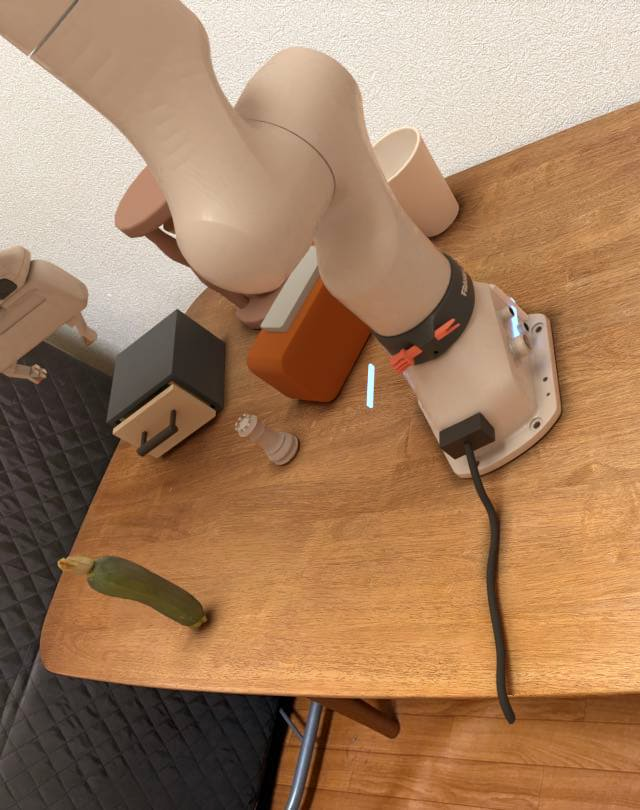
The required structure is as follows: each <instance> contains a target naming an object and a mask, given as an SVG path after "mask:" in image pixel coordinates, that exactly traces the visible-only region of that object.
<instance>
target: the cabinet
mask: <svg viewBox="0 0 640 810" xmlns="http://www.w3.org/2000/svg"><path fill="white" fill-rule="evenodd" d="M225 346H226V342H225V341H223V340H222V339H221V338H219V337H218V336H216V335H215V334H213V333H212V332H211V331H209V329H206V327H204V326H202V325H201V324H200V323H198V322H197V321H195V320H194V319H193V318H191V317H189V316H188V315H187V314H185V313H184V312H183V311H181V310H180V309H179V308H176V309H174V310H173V311H172V312H171V313H169V314H168V315H166V316H165V317H164V318H163V319H161V320H160V321H159V322H158V323H157V324H155V325H154V326H153V327H151V328H150V329H149V330H148V331H146V332H145V333H143V335H141V336H140V337H138V338H137V339H136V340H135V341H133V342H132V343H131V344H129V345H128V346H127V347H126V348H124V349H123V350H122V351H121V352H120V353H118V354H117V355H116V359H115V364H114V371H113V376H112V377H113V378H112V383H111V389H110V395H109V402H108V407H107V415H106V421H105V423H106V424H107V425H109V426H111V427H113V429H114V428H115V427H116V426H118V425H119V424H120V423H122V422H121V421H119V419H120V418H121V417H122V416H124V415H125V414H126V413H128V412H129V411H130V410H132V409H133V408H134V407H136V406H137V405H138V404H140V403H141V402H142V401H144V400H145V399H146V398H148V397H149V396H150V395H152V394H153V393H154V392H156V391H157V390H158V389H160V388H161V387H162V386H164V385H165V384H166V383H168V382H169V381H170V380H172V379H173V380H174V381H176V382H177V383H179V384H180V385H182V386H183V387H185V388H187V389H188V390H190V391H191V392H193V393H194V394H196V395H198V396H199V397H201V398H202V399H204V400H205V401H207V402H208V403H210V404H211V406H210V407H211V408H212V409H214V410H215V411H216V413H217V412H219V411H220V410H222V409H223V408H224V399H225V398H224V395H225V394H224V393H225V353H226V352H225V349H226V347H225Z"/></svg>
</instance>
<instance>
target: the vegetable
mask: <svg viewBox="0 0 640 810" xmlns="http://www.w3.org/2000/svg"><path fill="white" fill-rule="evenodd" d="M57 567H58V568H59V569H60V570H61V571H63V572H66V573H67V572H70V573H73V574H76V575H81V576H82V575H83V576H84V575H85V577H86V582H87V584H88V586H89V587H90V588H91V589H92V590H94V591H95V592H97V593H99V594H101V595H104V596H109V597H111V598H118V599H123V600H129V601H133V602H137V603H140V604H143V605H145V606H148V607H150V608H152V609H153V610H155V611H156V612H157V613H160V614H161V615H162V616H165V617H167V618H168V619H170V620H171V621H173V622H176V623H177V624H179V625H181V626H183V627H188V628H189V629H191V630H196V628H200V627H201V626H202V624H203V623H206V622H207V621H208V618H207V615H206V613H205V609H204V607H203V605H202V603H201V602H200V601H199V600H198V599H197V598H196V597H195V596H194V595H192V594H191V593H190V592H189V591H187V590H185V589H184V588H182V587H181V586H179V585H177V584H175V583H173V582H172V581H169V580H168V579H166V578H165V577H162V576H161V575H159V574H158V573H155V572H153V571H151V570H150V569H148V568H146V567H145V566H142V565H141V564H138V563H136V562H134V561H131V560H130V559H126V558H124V557H120V556H115V555H103V556H100V557H97V558H96V559H92V558H91V557H89V556H83V555H73V556H70V555H69V556H67V557H66V558H65V557H62V558H60V559H59V560H58V561H57Z"/></svg>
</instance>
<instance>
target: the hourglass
mask: <svg viewBox="0 0 640 810" xmlns="http://www.w3.org/2000/svg"><path fill="white" fill-rule="evenodd" d="M161 226H162V228H163V229H161ZM114 227H116V228H117V229H118V230H119V231H120V232H121V233H123V234H124V235H125V236H127V237H128V238H130V239H137V238H143V237H145V238H146V239H148V240H149V241H150V242H151V243H152V244H154V245H155V246H156V247H157V248H158V249H159V251H161V252H162V253H163V254H164V255H165V256H166V257H167V258H169V259H170V260H172V261H173V262H176V263H178V264H180V265H182V266H185V267H187V268H190V269H191V271H192V272H193V273H194V275H195V276H196V277H197V279H198V280H199V281H200V282H201V283H202V284H203V285H205V286H206V287H207V288H208V289H211V291H214V292H216V293H218V294H219V295H221V296H222V297H224V298H225V299H226V300H228V301H229V302H230V303H232V304H233V305H234V309H235V313H236V318H237V319H238V320H239V321H240V322H242V323H243V325H245V326H247V327H248V328H250V329H251V330H262V328H261V324H262V322H263V320H264V319H265V317H266V315H267V314H268V312H269V310H270V308H271V307H272V305H273V303H274V302H275V300H276V298H277V297H278V295H279V293H280V291H281V290H282V288H283V286H284V285H285V283H286V281H287V279H288V278H289V277H288V278H287V279H286V280H285V281H284V283H283V284H282V285H281V286H280V287H279V288H277V289H275V290H273V291H270V292H265V293H259V294H243V293H236V292H231V291H228V290H225V289H222V288H220V287H218V286H216V285H214V284H212V283H210V282H208V281H207V280H205V279H204V278H203V277H201V276H200V275H199V274H198V273H197V272H196V271H195V270H194V269H193V268H192V267H191V266H190V265H189V263H188V262H187V261H186V259H185V258H184V256H183V255H182V253H181V251H180V249H179V247H178V244H177V240H176V237H174V236H172V235H176V234H175V228H174V223H173V218H172V215H171V212H170V209H169V206H168V203H167V201H166V198H165V196H164V194H163V192H162V190H161V188H160V186H159V184H158V182H157V180H156V178H155V177H154V175H153V173H152V172H151V170H150V168H149V167H148V165H147V164H146V166H145V167H144V168H143V169H142V170H141V171H140V172H139V174H138V175H137V176H136V178H135V179H134V180H133V181H132V182H131V184H130V185H129V186H128V188H127V189H126V191H125V193H124V194H123V196H122V197H121V199H120V201H119V203H118V206H117V207H116V211H115V213H114ZM166 232H168V233H166ZM169 233H170V234H169ZM171 234H172V235H171ZM312 243H313V242H312ZM289 276H290V275H289Z"/></svg>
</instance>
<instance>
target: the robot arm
mask: <svg viewBox="0 0 640 810" xmlns="http://www.w3.org/2000/svg"><path fill="white" fill-rule="evenodd" d="M0 36H1V37H2V38H3V39H4V40H6V41H7V42H8V43H10V44H11V45H12V46H13V47H15V48H16V49H17V50H18V51H20V52H21V53H23V55H25V56H26V57H28V56H29V59H30V60H31V61H33V62H34V63H36V64H37V65H38V66H40V67H41V68H43V69H44V70H45V71H46V72H47V73H48V74H50V75H52V76H53V77H54V78H55V79H57V80H58V81H59V82H61V84H63V85H64V86H65V87H67V88H68V90H69V89H70V90H71V91H72V92H73V93H74V94H76V95H77V96H78V97H80V98H81V99H82V100H83V101H84V102H85V103H86V104H88V105H89V106H91V108H93V109H94V110H95V111H97V112H98V113H99V114H100V115H101V116H102V117H104V118H105V119H106V120H108V122H109V123H111V124H112V125H113V126H114V127H115V128H116V129H117V130H118V131H119V132H120V133H121V134H122V135H123V136H124V137H125V138H126V140H127V141H128V142H129V143H130V144H131V146H133V148H134V149H135V150H136V152H137V153H138V154H139V155H140V157H141V158H142V159H143V161H144V162H145V164H146V166H147V165H148V167H149V168H150V170H151V172H152V173H153V175H154V177H155V178H156V180H157V182H158V184H159V186H160V188H161V190H162V192H163V194H164V196H165V198H166V201H167V203H168V206H169V209H170V212H171V215H172V218H173V223H174V228H175V234H174V235H175V239H176V240H177V244H178V247H179V249H180V251H181V253H182V255H183V256H184V258H185V259H186V261H187V262H188V263H189V265H190V266H191V267H192V268H193V269H194V270H195V271H196V272H197V273H198V274H199V275H200V276H201V277H203V278H204V279H205V280H207V281H208V282H210V283H212V284H214V285H216V286H218V287H220V288H222V289H225V290H228V291H231V292H236V293H243V294H259V293H265V292H270V291H273V290H275V289H277V288H279V287H280V286H281V285H282V284H283V283H284V281H285V280H286V279H287V278H288V277H289V275H290V274H291V273H292V272H293V270H294V269H295V268H296V267H297V265H298V264H299V263H300V261H301V260H302V258H303V257H304V256H305V254H306V253H307V252H308V250H309V248H310V246H311V244H312V242H313V241H314V243H315V248H316V255H317V264H318V269H319V273H320V277H321V279H322V281H323V283H324V285H325V287H326V288H327V290H328V291H329V292H330V293H331V294H332V295H333V296H334V297H335V298H336V299H337V300H338V301H340V302H341V303H342V304H343V305H344V306H345V307H347V308H348V309H349V310H350V311H351V312H352V313H354V314H355V315H356V316H357V317H358V318H359V319H361V320H362V321H363V322H364V323H365V324H366V325H368V326H369V328H370V330H371V334H372V335H373V336H374V338H375V339H376V341H377V342H378V343H379V345H380V346H381V347H382V348H383V349H384V351H386V352H387V353H388V354H389V355H390V357H389V361H388V362H389V363H390V365H391V367H392V369H393V370H394V371H395V372H396V373H398V374H402V375H403V377H404V378H405V380H406V381H407V383H408V385H409V386H410V388H411V390H412V391H413V393H414V395H415V397H416V398H417V404H418V406H419V408H420V410H421V412H422V414H423V415H424V418H425V420H426V421H427V423H428V425H429V426H430V430H431V431H432V433H433V435H434V437H435V438H436V440H437V443H438V444H439V449H440V450H441V451H442V452H443V454H444V456H445V458H446V460H447V462H448V464H449V466H450V467H451V469H452V471H453V473H454V474H455V475H456V476H457V478H459V479H472V481H473V486H474V489H475V491H476V494H477V496H478V497H479V499H480V502H481V503H482V505H483V507H484V509H485V511H486V514H487V517H488V520H489V527H490V542H489V549H488V556H487V563H486V571H485V574H486V575H485V580H486V581H485V582H486V596H487V604H488V608H489V610H488V611H489V616H490V620H491V626H492V631H493V637H494V638H493V639H494V645H495V655H496V657H495V659H496V663H495V664H496V666H495V667H496V668H495V670H496V671H495V686H496V694H497V699H498V703H499V706H500V708H501V711H502V713H503V715H504V718H505V719H506V721H507V723H508V724H509V725H514V723H515V722H516V720H517V719H516V713H515V712H514V709H513V707H512V704H511V702H510V699H509V695H508V690H507V681H506V680H507V679H506V675H507V654H506V643H505V638H504V632H503V626H502V619H501V616H500V609H499V603H498V597H497V590H496V589H497V587H496V566H497V559H498V558H497V557H498V551H499V545H500V544H499V543H500V525H499V519H498V515H497V511H496V509H495V507H494V504H493V501H492V500H491V499H490V497H489V495H488V492H487V491H486V489H485V486H484V484H483V480H482V477H481V476H483V475H486V474H489V473H490V472H493V471H494V470H497V469H499V468H500V467H503V466H504V465H506V464H508V463H509V462H511V461H513V460H514V459H516V458H517V457H518V456H520V455H522V454H523V453H525V452H527V450H529V449H530V448H531V447H533V446H534V445H535V444H536V443H537V442H539V441H540V440H541V439H542V438H543V437H544V436H545V435H546V434H547V433H548V432H549V431H550V430H551V428H552V427H553V426H554V425H555V423H556V422H557V420H558V419H559V418H560V416H561V414H562V403H561V394H560V386H559V379H558V371H557V363H556V356H555V355H556V354H555V349H554V339H553V333H552V323H551V320H550V318H549V317H547V316H546V315H545V314H544V313H540V312H539V313H529V314H528V313H526V312H525V311H524V310H523V309H522V308H521V307H520V306H519V305H518V304H517V303H516V301H515V300H514V299H513V298H512V297H510V296H509V295H507V293H505V292H504V291H503V290H502V289H501V288H500V287H499V286H498V285H496V284H493V283H487V282H481V281H478V280H475V279H472V277H471V275H469V273H468V272H467V271H466V270H465V268H464V267H463V266H462V265H461V263H459V262H458V261H457V260H456V259H454V258H453V257H451V256H450V255H449V254H448V253H447V252H443V251H441V250H440V249H439V248H438V247H437V246H436V245H435V244H434V243H433V242H432V241H431V240H430V238H429V237H427V236H426V235H425V234H424V233H423V232H422V231H421V230H420V229H419V227H418V226H417V225H416V224H415V223H414V222H413V221H412V220H411V218H410V217H409V216H408V215H407V213H406V212H405V211H404V209H403V208H402V206H401V205H400V203H399V202H398V200H397V199H396V197H395V195H394V193H393V192H392V190H391V188H390V186H389V184H388V182H387V180H386V178H385V176H384V174H383V171H382V169H381V167H380V165H379V162H378V160H377V158H376V155H375V153H374V150H373V147H372V145H373V144H372V141H371V139H370V136H369V132H368V129H367V125H366V124H367V123H366V119H365V113H364V103H363V101H364V100H363V95H362V91H361V89H360V86H359V84H358V83H357V81H356V79H355V78H354V76H353V75H352V74H351V72H350V71H349V70H347V68H346V67H345V66H344V65H342V63H340V62H339V61H338V60H337V59H336V58H334V57H333V56H330V55H328V54H327V53H325V52H322V51H319V50H317V49H313V48H309V47H305V46H291V47H286V48H283V49H281V50H279V51H278V52H276V53H275V54H274V55H273V56H272V57H271V58H269V60H268V61H267V62H265V63H264V64H263V65H262V66H261V67H260V68H259V69H258V71H256V73H254V74H253V75H252V77H251V78H249V80H248V81H247V82H246V84H245V86H244V88H243V89H242V92H241V93H240V95H239V97H238V99H237V101H236V102H235V104H234V106H233V105H232V103H231V102H230V100H229V99H228V97H227V96H226V94H225V92H224V91H223V89H222V86H221V84H220V83H219V79H218V77H217V75H216V72H215V69H214V65H213V57H212V48H211V47H212V46H211V42H210V37H209V34H208V32H207V30H206V28H205V26H204V24H203V23H202V21H201V20H200V18H199V17H198V16H197V15H196V14H195V13H194V11H192V10H191V9H190V8H188V6H186V5H185V4H184V3H183V2H182V1H181V0H0ZM89 296H90V294H89V289H88V287H87V285H86V284H85V283H84V282H83V281H81V280H80V279H79V278H77V277H76V276H74V275H73V274H72V273H70V272H68V271H67V270H65V269H63V268H62V267H60V266H58V265H56V264H54V263H52V262H50V261H47V260H45V259H32V253H31V252H30V251H29V249H27V248H25V247H24V246H23V245H14V246H10V247H8V248H5V249H2V250H0V374H2V375H5V376H6V377H8V378H15V379H17V378H18V379H27V380H28V381H30V382H32V383H34V384H35V385H38V384H40V383H42V382H43V381H44V380H45V379H46V378H47V374H48V371H47V370H46V369H45V368H42V367H41V366H40V365H38V364H36V363H35V364H34V365H32V366H28V365H25V364H19V363H18V361H19V360H20V359H21V358H22V357H24V356H25V355H26V354H27V353H29V352H30V351H32V350H33V349H34V348H35V347H37V346H38V345H40V344H41V343H42V342H43V341H44V340H46V339H47V338H48V337H50V336H51V335H53V334H54V333H55V332H56V331H58V330H59V329H60V328H62V327H63V326H64V325H67V326H68V327H70V328H74V327H76V329H77V331H78V333H77V338H76V339H77V341H79V342H81V343H83V344H84V345H85V346H90V345H91V344H94V342H95V341H97V340H98V333H97V331H96V330H94V329H93V328H91V327H90V326H88V324H87V321H86V320H85V318H84V316H83V314H82V311H83V310H85V309H86V308H87V306H88V303H89ZM367 372H368V374H367V394H366V406H367V407H368V408H370V409H372V408H374V389H375V388H374V386H375V383H374V382H375V365H373V364H372V363H369V364H368V371H367Z"/></svg>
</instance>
